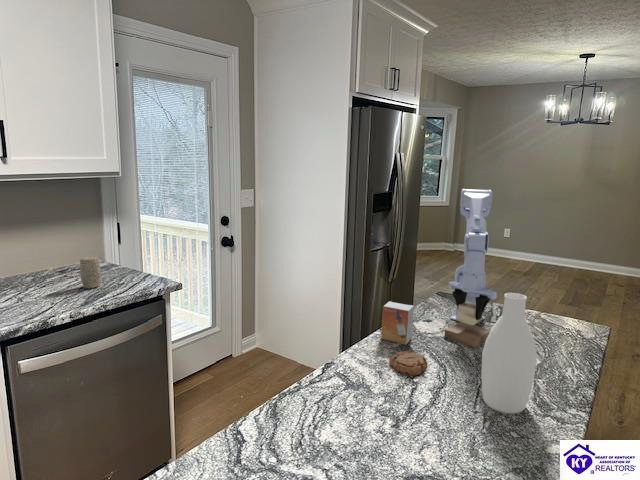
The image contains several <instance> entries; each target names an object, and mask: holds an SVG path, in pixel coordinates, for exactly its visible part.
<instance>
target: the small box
mask: <svg viewBox="0 0 640 480" xmlns="http://www.w3.org/2000/svg"><path fill="white" fill-rule="evenodd" d="M414 310H415V305H412V304H406V303H405V304H404V303H399V302H393V301H388V302H387V303H386V304H384V305H383V306H382V316H381V317H382V320H381V332H380V333H381V334H380V335H381V336H380V339H381V340H385V341H389V342H393V343H398V344H401V345H405V346H406V345H407V344H408V343H409V342H410V341H411V339H412V338H413V327H414V326H413V325H414V313H415V311H414Z"/></svg>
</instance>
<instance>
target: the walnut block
mask: <svg viewBox="0 0 640 480" xmlns="http://www.w3.org/2000/svg"><path fill="white" fill-rule="evenodd" d="M490 331H491V329H487V328H485V327H481V326H478V325H476V324H475V325H469V324H466V323H463V322H460V321H458V322H457V323H455V324H453V325H452V326H449V327H447V328H445V329H444V338H445V339H447V340H451V341H452V342H453V341H454V342H457V343H460V344H462V345H466V346H469V347H472V348H474V349H475V348H477V347H479V346H481V345H482V344H485V341H486V339H487V337H488V335H489V333H490Z"/></svg>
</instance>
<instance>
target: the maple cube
mask: <svg viewBox="0 0 640 480" xmlns="http://www.w3.org/2000/svg"><path fill="white" fill-rule="evenodd" d="M456 322H463V323H466V324H469V325H475V326H476V324H479V323H481V322H482V320H481V319H479V320H476V304H475V303H471V302H465V303H462V304H460V305H459V307H458V319H457V321H456Z"/></svg>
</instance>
